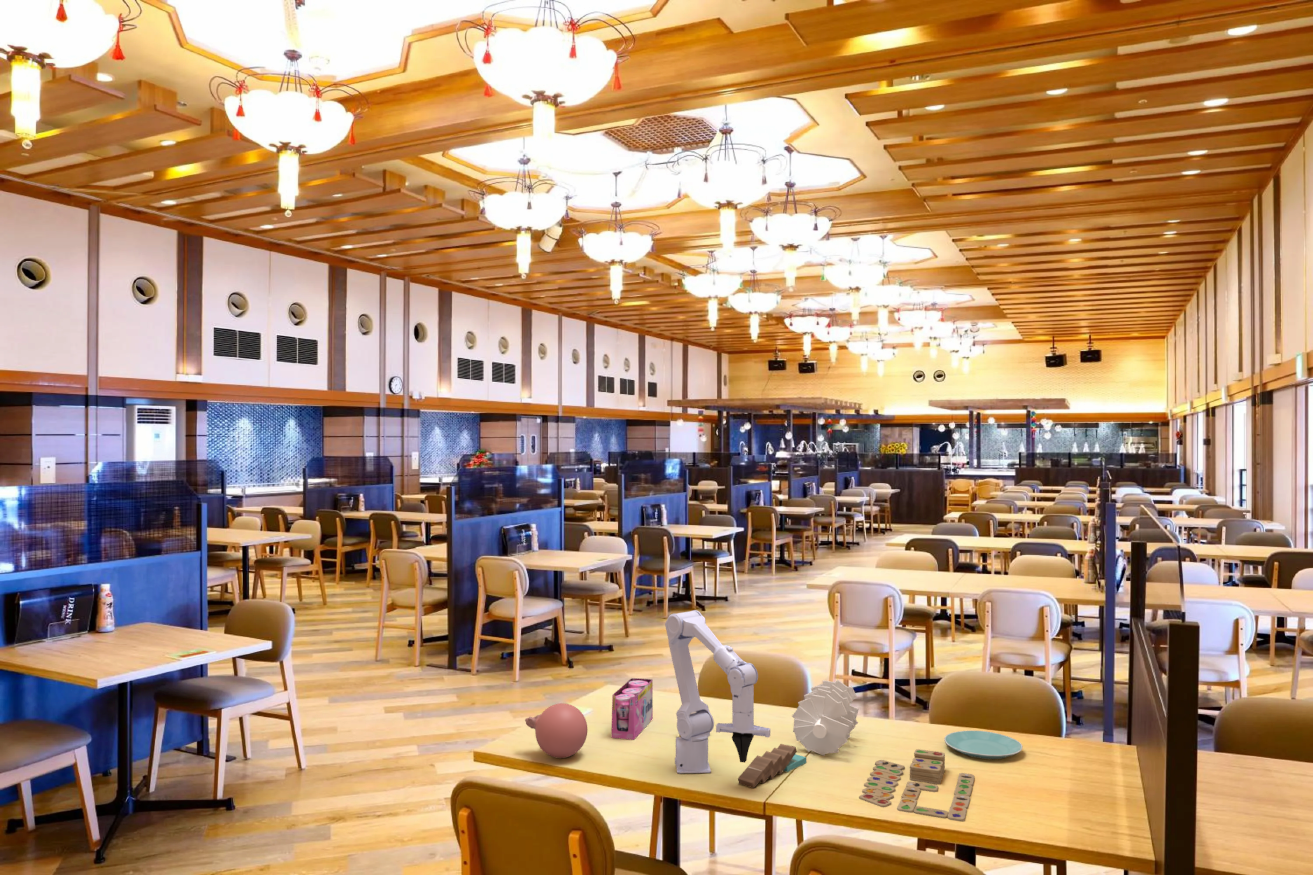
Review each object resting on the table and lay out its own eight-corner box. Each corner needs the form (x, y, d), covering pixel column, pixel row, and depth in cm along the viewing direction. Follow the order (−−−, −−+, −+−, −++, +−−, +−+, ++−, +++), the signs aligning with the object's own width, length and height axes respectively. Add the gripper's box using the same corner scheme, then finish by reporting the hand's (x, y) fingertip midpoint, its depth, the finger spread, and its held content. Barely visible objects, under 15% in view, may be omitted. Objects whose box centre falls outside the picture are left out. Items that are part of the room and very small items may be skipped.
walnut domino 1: (752, 782, 230) (772, 759, 237) (737, 778, 233) (757, 755, 240) (754, 788, 230) (773, 764, 237) (738, 783, 234) (758, 760, 241)
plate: (998, 769, 244) (998, 759, 244) (929, 749, 261) (929, 739, 261) (1036, 752, 258) (1036, 743, 258) (969, 734, 275) (969, 725, 275)
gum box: (633, 741, 269) (633, 697, 269) (609, 739, 271) (609, 696, 271) (653, 719, 292) (653, 678, 292) (630, 717, 294) (630, 677, 294)
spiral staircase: (805, 769, 255) (820, 739, 278) (859, 750, 249) (870, 721, 273) (778, 711, 258) (795, 686, 281) (831, 691, 252) (844, 667, 275)
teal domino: (787, 766, 242) (806, 756, 250) (772, 762, 245) (791, 752, 253) (787, 772, 242) (806, 762, 250) (772, 768, 245) (791, 758, 253)
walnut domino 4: (779, 769, 239) (795, 746, 247) (763, 765, 243) (780, 743, 250) (780, 774, 240) (797, 751, 247) (765, 770, 243) (781, 748, 250)
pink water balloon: (540, 742, 267) (540, 693, 268) (596, 751, 259) (596, 700, 259) (511, 758, 253) (512, 706, 254) (570, 768, 245) (570, 714, 245)
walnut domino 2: (762, 778, 233) (781, 754, 240) (747, 773, 236) (766, 750, 243) (763, 783, 234) (782, 759, 240) (748, 778, 237) (767, 755, 244)
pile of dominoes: (877, 762, 251) (876, 743, 251) (975, 776, 240) (975, 756, 240) (853, 806, 220) (852, 784, 220) (965, 824, 208) (965, 801, 209)
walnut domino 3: (770, 774, 236) (789, 751, 243) (755, 770, 239) (774, 747, 246) (771, 779, 237) (790, 756, 243) (757, 774, 240) (775, 752, 247)
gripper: (772, 708, 233) (772, 758, 233) (720, 703, 238) (720, 753, 237) (767, 715, 226) (767, 767, 226) (713, 710, 231) (714, 761, 231)
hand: (743, 760), depth 231 cm, fingers closed
